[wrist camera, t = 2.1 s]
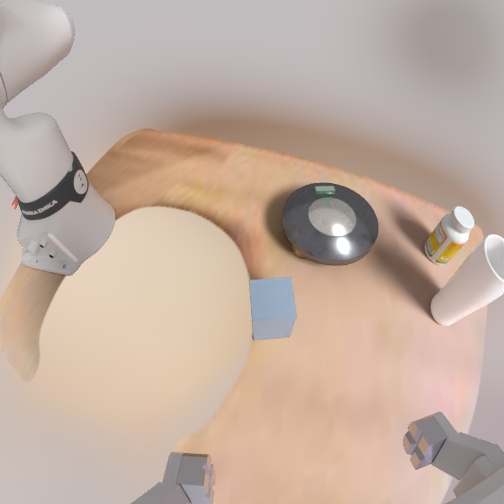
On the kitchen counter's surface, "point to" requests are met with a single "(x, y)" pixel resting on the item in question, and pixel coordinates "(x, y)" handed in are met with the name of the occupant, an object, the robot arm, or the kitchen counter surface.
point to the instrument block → (272, 308)
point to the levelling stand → (329, 224)
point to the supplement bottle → (449, 236)
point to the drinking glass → (472, 283)
